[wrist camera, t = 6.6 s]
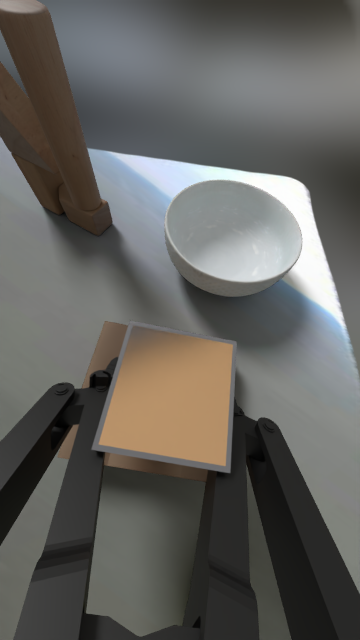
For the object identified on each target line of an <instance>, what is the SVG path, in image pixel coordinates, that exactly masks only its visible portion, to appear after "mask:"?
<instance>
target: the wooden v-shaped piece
mask: <svg viewBox="0 0 360 640" xmlns="http://www.w3.org/2000/svg"><path fill="white" fill-rule="evenodd" d="M0 30H1V33H2V35H3V37H4V40H5V42H6V44H7V47H8V49H9V51H10V54H11V56H12V59H13V61H14V64H15V66H16V68H17V71H18V73H19V75H20V78H21V80H22V82H23V85H24V87H25V89H26V92H27V94H28V97H29V98H28V97H27V96H26V94H25V93H24V92H23V91H22V89H21V88H20V87H19V85H18V84H17V83H16V81H15V80H14V79H13V77H12V76H11V75H10V74H9V72H8V71H7V70H6V68H5V67H4V66H3V64H2V63H1V62H0V136H1V138H2V139H3V141H4V143H5V145H6V146H7V148H8V150H9V151H10V152H12V153H11V154H12V156H13V158H14V159H15V161H16V163H17V164H18V166H19V168H20V170H21V171H22V173H23V175H24V176H25V178H26V180H27V182H28V183H29V185H30V187H31V188H32V190H33V192H34V193H35V195H36V197H37V199H38V200H39V202H40V204H41V205H42V206H43V207H45V208H47V209H49V210H50V211H52V212H54V213H56V214H58V215H61V214H62V213H63V212H64V211H65V213H66V215H67V217H68V219H69V220H70V221H71V222H73V223H75V224H77V225H78V226H80V227H82V228H84V229H86V230H88V231H89V232H91V233H93V234H95V235H97V236H99V235H101V234H102V233H103V232H104V231H105V230H106V229H107V228H108V227H109V226H110V225H111V224H112V222H113V221H112V217H111V213H110V209H109V205H108V202H107V201H105V200H103V199H101V198H100V194H99V190H98V187H97V183H96V179H95V176H94V172H93V168H92V165H91V161H90V157H89V154H88V150H87V146H86V143H85V139H84V136H83V132H82V128H81V125H80V121H79V117H78V114H77V110H76V107H75V103H74V99H73V96H72V92H71V88H70V84H69V81H68V77H67V74H66V70H65V66H64V63H63V59H62V55H61V52H60V48H59V44H58V41H57V37H56V33H55V30H54V26H53V22H52V19H51V15H50V13H49V11H48V9H47V7H46V6H44V5H43V4H42V3H40V2H38V1H36V0H0Z"/></svg>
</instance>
